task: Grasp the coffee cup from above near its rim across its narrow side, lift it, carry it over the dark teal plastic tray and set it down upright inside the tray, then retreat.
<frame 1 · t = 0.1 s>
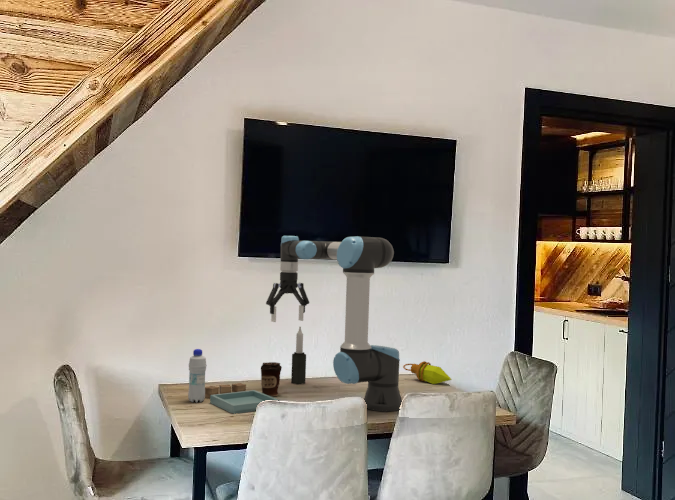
hand: (287, 321, 289), 28 cm above the table, fingers open, 13 cm apart
tray: (244, 405, 253), on the table
coffee cup: (270, 395, 271), on the table
bottle: (196, 401, 257), on the table
plumb bob: (427, 382, 308), on the table
walnut block 2: (225, 395, 268), on the table
walnut block 3: (211, 397, 265), on the table
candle: (298, 383, 297), on the table
walnut block 1: (238, 394, 272), on the table
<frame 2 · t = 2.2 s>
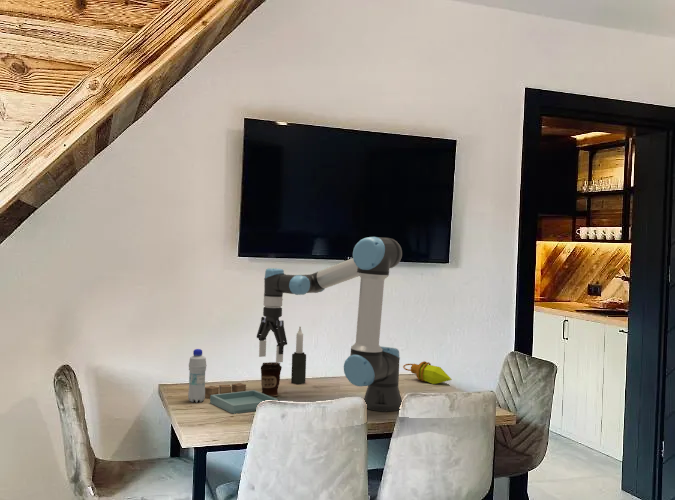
hand: (270, 359, 271), 14 cm above the table, fingers open, 13 cm apart
nothing on the table moved.
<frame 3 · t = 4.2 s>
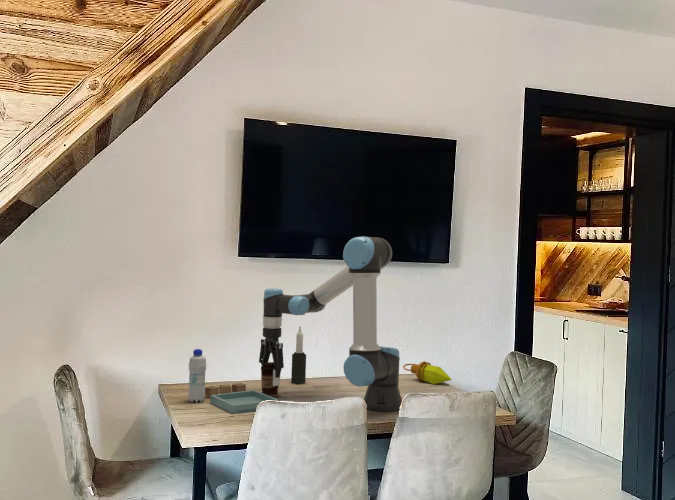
hand: (270, 383, 271), 5 cm above the table, fingers closed on coffee cup, 8 cm apart
coffee cup: (270, 395, 271), on the table, touching gripper
everything else where it was.
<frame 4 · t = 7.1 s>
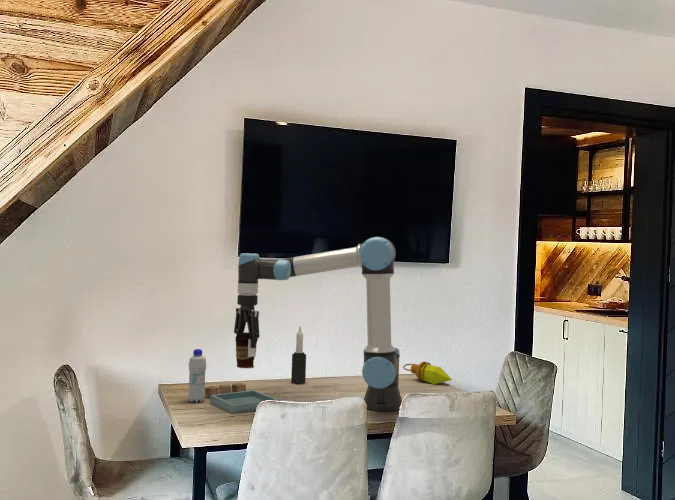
hand: (245, 354, 253), 19 cm above the table, fingers closed on coffee cup, 8 cm apart
coffee cup: (245, 368, 253), point 14 cm above the table, touching gripper
everything else where it was.
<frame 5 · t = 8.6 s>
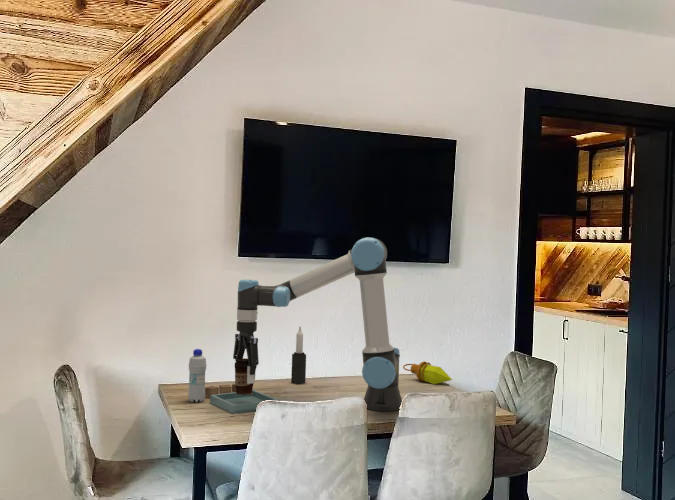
hand: (244, 381, 253), 9 cm above the table, fingers closed on coffee cup, 8 cm apart
coffee cup: (244, 394, 253), point 4 cm above the table, touching gripper
everything else where it was.
when the fingers open (7 cm above the table, at t = 10.1 s): coffee cup stays where it is, resting on tray.
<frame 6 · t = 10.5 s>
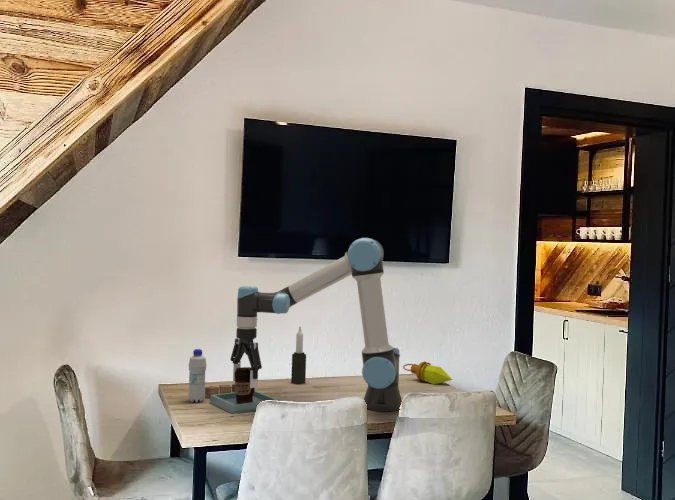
hand: (244, 384, 253), 8 cm above the table, fingers open, 13 cm apart
coffee cup: (244, 403, 253), point 1 cm above the table, touching tray
everything else where it was.
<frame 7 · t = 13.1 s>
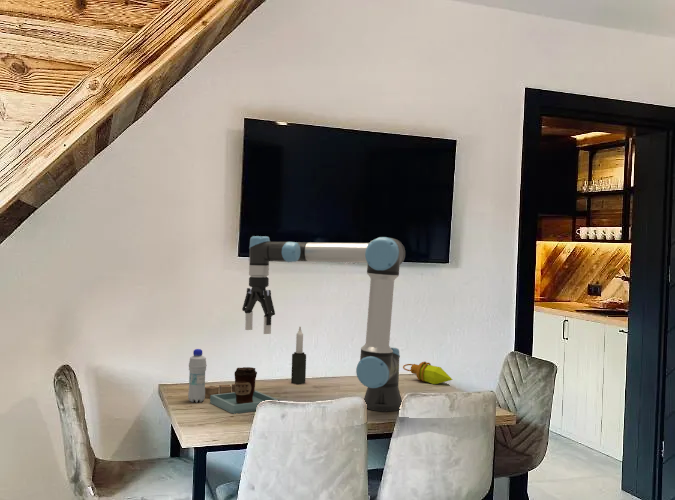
hand: (257, 331, 258), 27 cm above the table, fingers open, 13 cm apart
nothing on the table moved.
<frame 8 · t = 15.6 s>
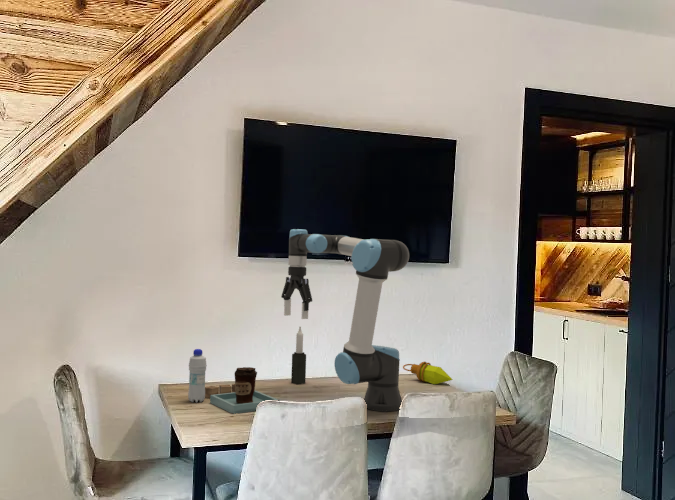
hand: (295, 317, 281), 31 cm above the table, fingers open, 13 cm apart
nothing on the table moved.
at the end: coffee cup inside the target area on the tray (0.2 cm from its centre), point 0.8 cm above the tray's base; coffee cup tilted 0°; the gripper is holding nothing; coffee cup touching tray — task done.
